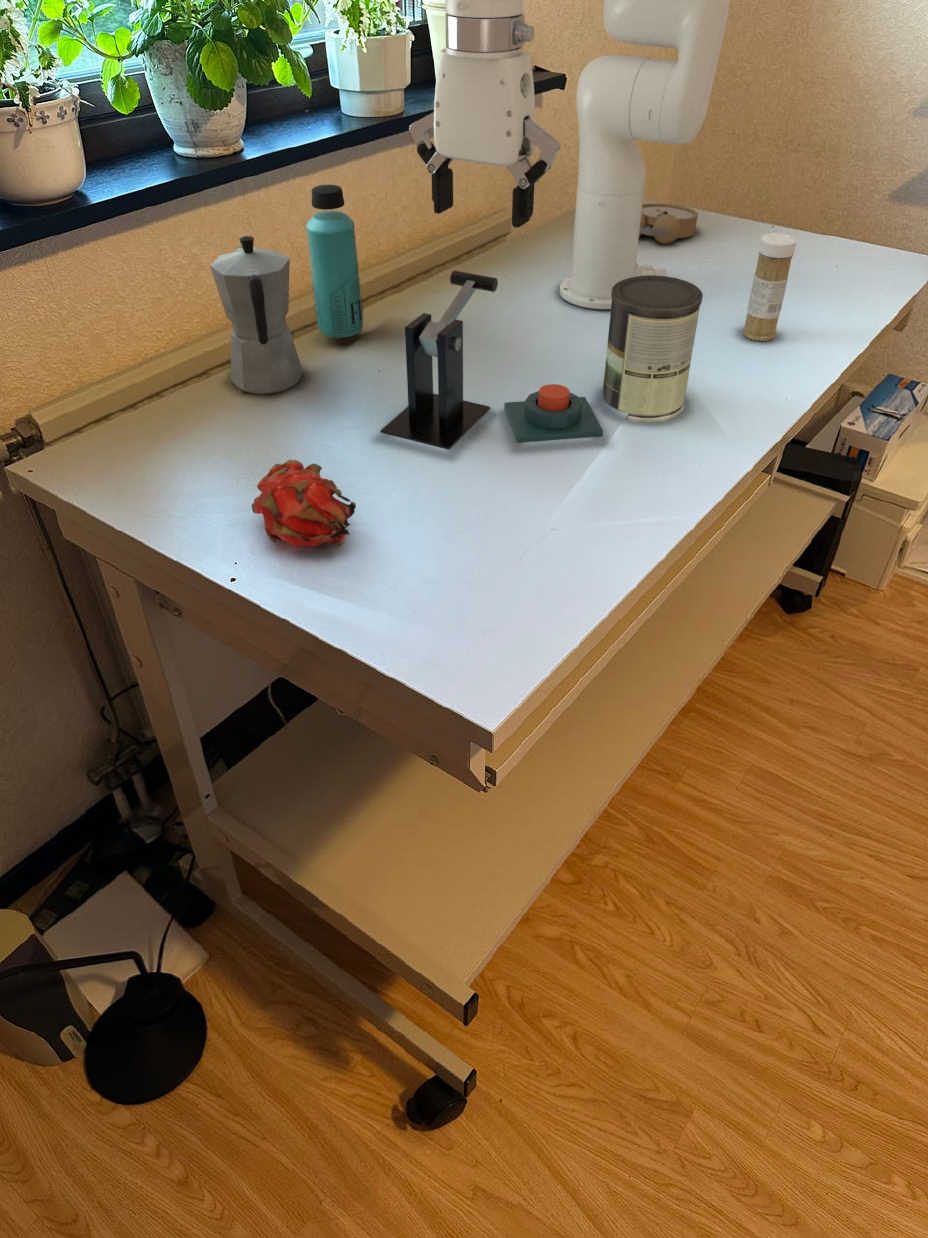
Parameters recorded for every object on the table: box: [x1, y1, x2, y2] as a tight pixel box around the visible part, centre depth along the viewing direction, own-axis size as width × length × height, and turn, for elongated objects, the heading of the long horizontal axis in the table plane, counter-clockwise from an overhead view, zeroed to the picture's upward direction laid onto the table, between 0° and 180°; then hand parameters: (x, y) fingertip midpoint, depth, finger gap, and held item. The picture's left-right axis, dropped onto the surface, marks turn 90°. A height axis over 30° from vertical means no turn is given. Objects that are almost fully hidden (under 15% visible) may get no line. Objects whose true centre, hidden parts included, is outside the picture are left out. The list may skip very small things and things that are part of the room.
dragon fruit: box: [251, 459, 357, 548], centre depth 92 cm, size 8×8×12 cm
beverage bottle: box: [305, 184, 365, 339], centre depth 124 cm, size 6×7×20 cm
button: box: [538, 383, 571, 411], centre depth 108 cm, size 4×4×2 cm
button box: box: [503, 390, 604, 444], centre depth 110 cm, size 10×8×4 cm
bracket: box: [379, 312, 491, 450], centre depth 107 cm, size 11×9×13 cm
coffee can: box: [602, 275, 704, 423], centre depth 111 cm, size 10×10×14 cm
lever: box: [419, 270, 499, 358], centre depth 106 cm, size 13×6×2 cm, turn 153°
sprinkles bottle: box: [742, 232, 797, 342], centre depth 127 cm, size 5×5×13 cm
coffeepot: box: [209, 235, 304, 395], centre depth 114 cm, size 15×9×18 cm, turn 15°
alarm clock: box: [639, 202, 699, 245], centre depth 162 cm, size 11×5×15 cm
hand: (481, 216), depth 102 cm, fingers open, 9 cm apart
